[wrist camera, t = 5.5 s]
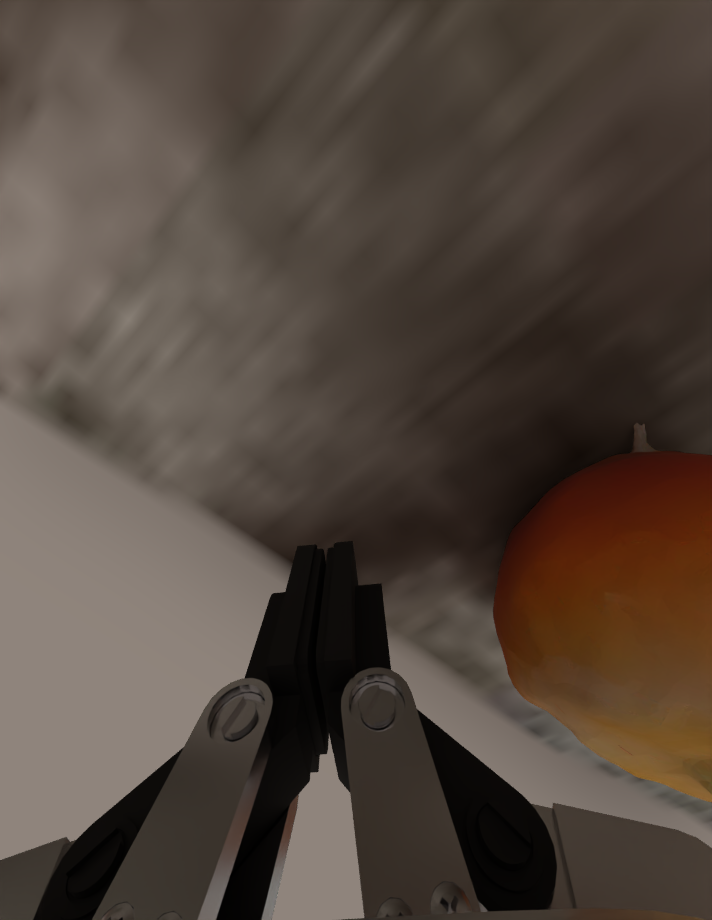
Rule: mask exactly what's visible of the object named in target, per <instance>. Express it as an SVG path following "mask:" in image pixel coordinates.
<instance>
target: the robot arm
mask: <svg viewBox="0 0 712 920" xmlns="http://www.w3.org/2000/svg"><path fill="white" fill-rule="evenodd" d="M329 735H330V739H331V744H332V749H333V753H334V758H335V763H336V767H337V772H338V777H339V780H340V781H341V782H342V783H343V785H344V786H345V787H346V788H347V789H348V791H349V792H350V793H351V802H352V811H353V820H354V829H355V838H356V847H357V856H358V864H359V873H360V882H361V891H362V900H363V909H364V918H362V919H345V920H712V848H711V847H709V846H708V845H707V844H705V843H703V842H702V841H701V840H699V839H698V838H696V837H693V836H691V835H689V834H686V833H684V832H681V831H679V830H675V829H670V828H666V827H661V826H657V825H652V824H648V823H643V822H638V821H634V820H630V819H624V818H620V817H616V816H611V815H607V814H602V813H598V812H593V811H588V810H584V809H579V808H575V807H570V806H565V805H561V804H556V803H553V806H552V808H548V807H543V806H539V805H534V804H530V803H529V802H528V801H527V799H525V797H523V795H522V794H520V793H519V792H518V791H517V790H516V789H514V788H513V787H512V786H511V785H509V784H508V783H507V782H506V781H504V780H503V779H502V778H501V777H499V776H498V775H497V774H496V773H495V772H493V771H492V770H491V769H489V767H487V766H486V765H485V764H484V763H482V762H481V761H480V760H479V759H478V758H476V757H475V756H474V755H472V754H471V753H470V752H469V751H468V750H466V749H465V748H464V747H462V746H461V745H460V744H459V743H458V742H457V741H455V740H454V739H453V738H452V737H451V736H449V735H448V734H447V733H446V732H444V731H443V730H442V729H441V728H440V727H438V726H437V725H435V723H433V722H432V721H431V720H430V719H428V718H427V717H426V716H425V715H424V714H422V713H421V712H420V711H419V710H417V709H416V705H415V702H414V699H413V696H412V693H411V691H410V689H409V686H408V684H407V682H406V681H405V680H404V679H403V678H402V677H401V676H400V675H399V674H397V673H395V672H393V671H392V670H391V666H390V657H389V648H388V639H387V630H386V621H385V612H384V603H383V594H382V586H381V584H371V585H360V586H358V579H357V571H356V563H355V555H354V547H353V542H352V541H348V542H338V543H335V544H334V548H328V552H327V561H325V555H324V550H323V549H317V546H316V545H306V546H298V547H297V550H296V554H295V557H294V561H293V565H292V569H291V573H290V576H289V580H288V584H287V588H286V592H283V593H273V594H272V595H271V597H270V600H269V603H268V606H267V609H266V612H265V615H264V619H263V622H262V626H261V628H260V631H259V634H258V638H257V641H256V644H255V647H254V650H253V653H252V657H251V660H250V663H249V666H248V669H247V672H246V676H245V679H240V680H237V681H234V682H232V683H230V684H228V685H227V686H225V687H224V688H222V689H221V690H220V691H219V692H218V693H217V694H216V695H215V696H214V697H212V699H211V700H210V702H209V703H208V705H207V706H206V707H205V709H204V711H203V713H202V714H201V716H200V718H199V720H198V722H197V724H196V726H195V727H194V729H193V731H192V733H191V735H190V737H189V739H188V741H187V742H186V744H185V746H184V747H183V748H182V749H181V750H180V751H179V752H177V753H176V754H175V755H174V756H173V757H172V758H170V759H169V760H168V761H167V762H166V763H164V764H163V765H162V766H161V767H160V768H158V769H157V770H156V771H155V772H154V773H153V774H151V775H150V776H149V777H148V778H147V779H145V780H144V781H143V782H142V783H141V784H139V785H138V786H137V787H136V788H135V789H133V790H132V791H131V792H130V793H129V794H128V795H126V796H125V797H124V798H123V799H122V800H120V801H119V802H118V803H117V804H116V805H114V807H112V808H111V809H110V810H109V811H107V812H106V813H105V814H104V815H103V816H102V817H101V818H99V819H98V820H97V821H95V823H93V824H92V825H91V826H90V827H89V828H88V829H87V830H86V831H85V832H84V833H83V834H82V835H81V836H80V837H79V838H78V839H77V840H75V841H71V842H70V841H69V840H68V838H67V837H65V838H62V839H59V840H56V841H53V842H50V843H48V844H45V845H42V846H39V847H36V848H34V849H31V850H28V851H25V852H22V853H19V854H17V855H14V856H11V857H8V858H5V859H3V860H0V920H272V916H273V912H274V907H275V903H276V898H277V894H278V890H279V885H280V881H281V877H282V872H283V868H284V864H285V859H286V855H287V850H288V846H289V842H290V838H291V833H292V829H293V824H294V820H295V816H296V811H297V806H298V805H297V804H298V797H299V795H298V794H299V793H300V792H301V791H302V789H303V788H304V787H305V786H306V785H307V783H308V782H309V781H310V772H318V769H319V756H320V754H327V750H328V739H329ZM343 920H344V919H343Z"/></svg>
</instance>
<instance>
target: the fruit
mask: <svg viewBox="0 0 712 920" xmlns="http://www.w3.org/2000/svg"><path fill="white" fill-rule="evenodd" d="M634 431H635V432H634V442H633V450H632V451H631V453H628V454H618V455H614V456H610V457H608V458H606V459H604V460H601V461H599V462H597V463H595V464H593V465H591V466H589V467H586V468H584V469H582V470H580V471H578V472H576V473H575V474H573V475H571V476H569V477H567V478H566V479H564V480H562V481H561V482H559V483H558V484H557V485H556V486H554V487H553V488H552V489H550V490H549V491H548V492H547V493H546V494H545V495H544V496H543V497H542V498H541V500H540V501H539V502H538V503H537V504H536V505H535V506H534V507H533V508H532V510H531V511H530V512H529V513H528V514H527V515H526V516H525V517H524V518H523V519H522V520H521V521H520V522H519V523H518V524H517V525H516V526H515V527H514V528H513V530H512V531H511V533H510V535H509V537H508V540H507V544H506V547H505V551H504V554H503V558H502V561H501V565H500V568H499V572H498V581H497V587H496V592H495V598H494V607H493V618H494V623H495V627H496V632H497V635H498V638H499V641H500V644H501V647H502V651H503V654H504V658H505V661H506V664H507V670H508V675H509V677H510V679H511V681H512V683H513V685H514V686H515V688H516V689H517V691H518V692H519V693H520V694H521V696H522V697H523V698H524V699H526V700H527V701H529V702H530V703H532V704H534V705H536V706H538V707H540V708H542V709H544V710H546V711H548V712H549V713H550V714H551V715H553V716H554V717H555V718H556V719H557V720H559V721H560V722H561V723H562V724H563V725H565V726H566V727H567V728H568V729H569V730H571V731H572V732H573V733H574V735H575V736H576V737H577V739H578V740H579V741H580V742H581V743H583V744H584V745H585V746H587V747H588V748H589V749H591V750H592V751H593V752H595V753H596V754H597V755H599V756H601V757H603V758H604V759H606V760H608V761H609V762H611V763H613V764H616V765H618V766H620V767H621V768H622V769H624V770H626V771H627V772H629V773H631V774H633V775H634V776H637V777H639V778H642V779H647V780H651V781H656V782H659V783H662V784H665V785H667V786H669V787H671V788H673V789H675V790H678V791H680V792H683V793H685V794H688V795H691V796H694V797H696V798H699V799H702V800H705V801H708V802H712V455H703V454H692V453H683V452H677V451H657V450H655V449H653V448H652V447H651V446H650V445H649V444H648V443H647V436H646V430H645V425H644V424H643V425H639V424H638V423H636V424H635V425H634Z"/></svg>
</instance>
